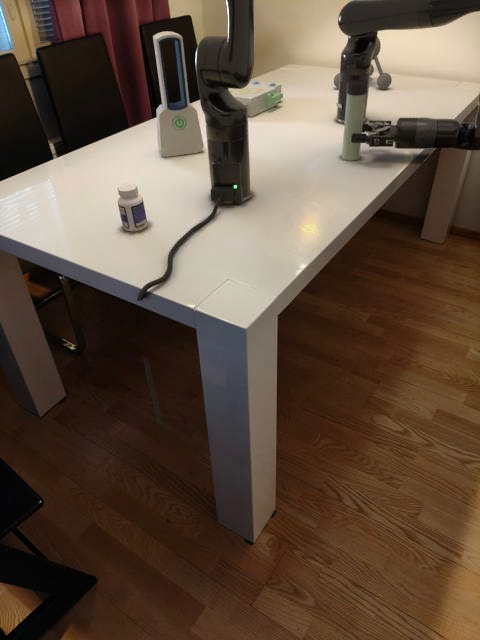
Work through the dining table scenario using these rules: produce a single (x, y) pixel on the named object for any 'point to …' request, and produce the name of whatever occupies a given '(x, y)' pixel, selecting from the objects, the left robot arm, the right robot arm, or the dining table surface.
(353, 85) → the lid
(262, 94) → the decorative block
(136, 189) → the pill bottle
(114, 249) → the dining table surface
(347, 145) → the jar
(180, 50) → the electronic device
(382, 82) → the molecular model
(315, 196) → the dining table surface
